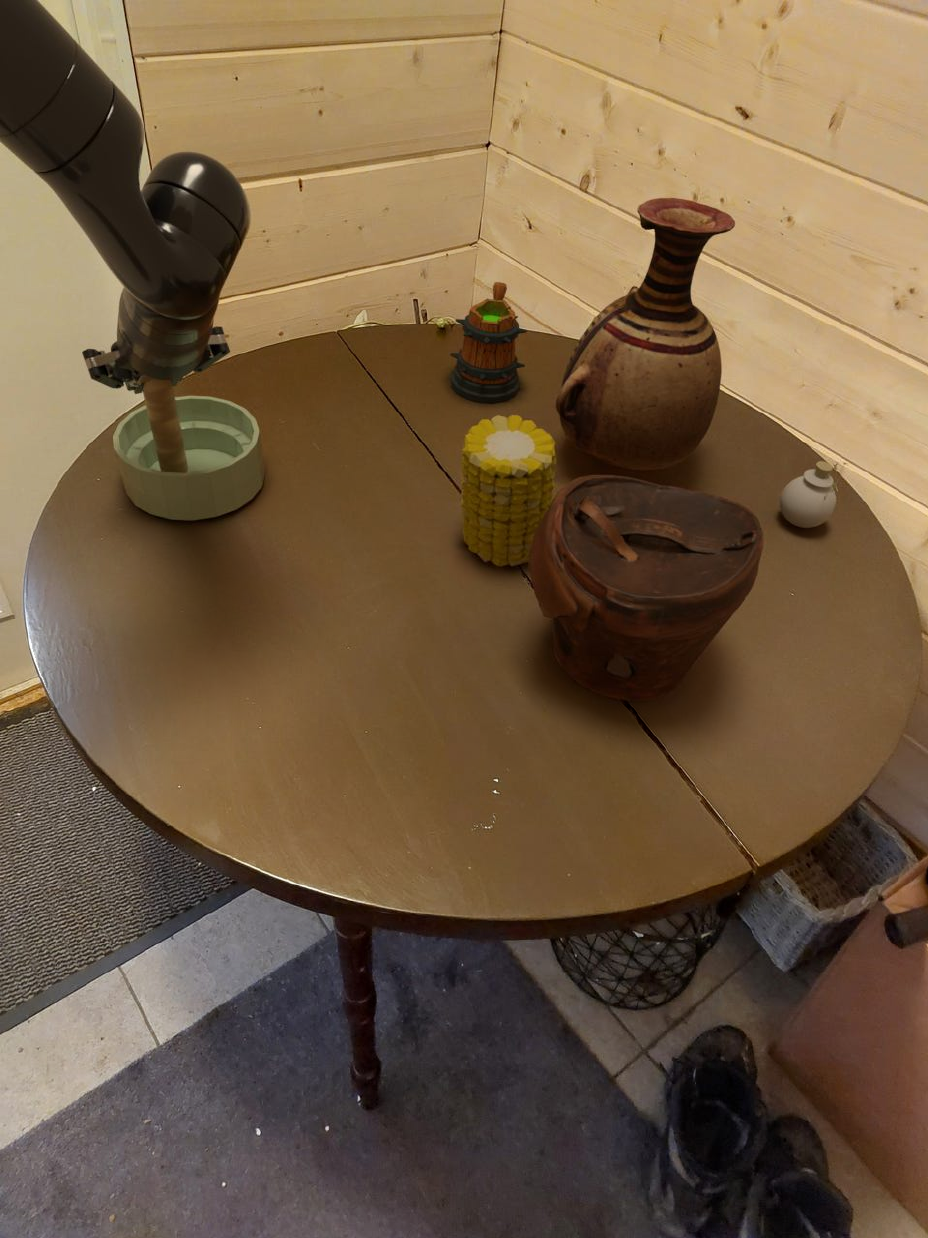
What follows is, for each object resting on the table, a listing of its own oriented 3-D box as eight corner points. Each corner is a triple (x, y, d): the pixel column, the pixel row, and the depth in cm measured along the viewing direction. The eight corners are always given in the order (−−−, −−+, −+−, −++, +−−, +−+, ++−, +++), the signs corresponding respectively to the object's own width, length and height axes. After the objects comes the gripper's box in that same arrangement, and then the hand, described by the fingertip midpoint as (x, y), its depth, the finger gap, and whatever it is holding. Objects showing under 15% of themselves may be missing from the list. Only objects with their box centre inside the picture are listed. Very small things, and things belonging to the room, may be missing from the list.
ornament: (814, 506, 100) (848, 437, 93) (834, 547, 95) (872, 477, 88) (766, 504, 100) (796, 434, 93) (784, 545, 95) (817, 474, 88)
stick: (162, 478, 92) (136, 363, 82) (159, 463, 93) (133, 348, 83) (190, 474, 92) (167, 360, 82) (186, 459, 94) (164, 345, 84)
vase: (550, 505, 97) (601, 244, 75) (528, 418, 109) (566, 173, 87) (725, 505, 99) (822, 254, 78) (683, 421, 112) (757, 183, 90)
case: (488, 606, 84) (508, 460, 71) (662, 575, 90) (710, 435, 77) (553, 746, 73) (592, 603, 60) (748, 702, 78) (822, 562, 65)
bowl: (132, 534, 88) (118, 485, 83) (121, 452, 97) (108, 404, 93) (276, 512, 92) (270, 463, 87) (252, 436, 102) (246, 388, 97)
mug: (517, 409, 110) (528, 327, 102) (442, 397, 111) (447, 315, 103) (527, 362, 119) (539, 283, 111) (458, 351, 120) (464, 272, 112)
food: (557, 558, 93) (485, 593, 88) (498, 484, 97) (426, 515, 93) (599, 467, 80) (517, 504, 76) (528, 387, 84) (447, 418, 80)
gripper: (230, 267, 74) (206, 334, 89) (64, 292, 68) (69, 358, 84) (257, 350, 74) (228, 401, 90) (95, 381, 69) (95, 430, 85)
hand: (152, 380), depth 87 cm, fingers closed on stick, 3 cm apart
